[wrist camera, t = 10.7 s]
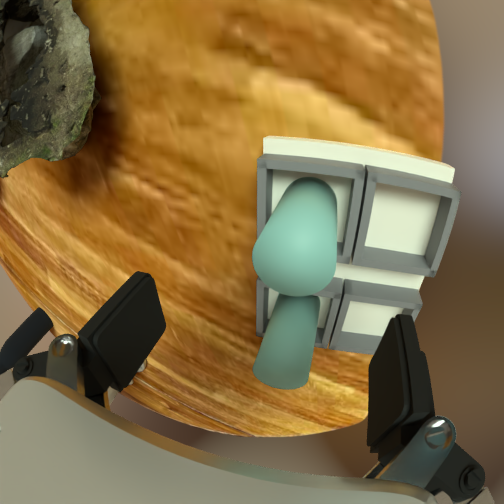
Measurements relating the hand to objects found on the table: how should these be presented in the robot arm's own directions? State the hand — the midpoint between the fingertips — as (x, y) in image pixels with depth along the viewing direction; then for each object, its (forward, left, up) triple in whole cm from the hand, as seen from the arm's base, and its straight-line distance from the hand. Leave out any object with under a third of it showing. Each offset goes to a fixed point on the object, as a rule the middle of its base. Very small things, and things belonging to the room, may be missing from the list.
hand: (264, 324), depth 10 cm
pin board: (-4, -4, -13) cm, 14 cm away
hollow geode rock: (+18, +25, -14) cm, 33 cm away
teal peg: (0, 0, -12) cm, 12 cm away
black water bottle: (-35, +61, -13) cm, 72 cm away
